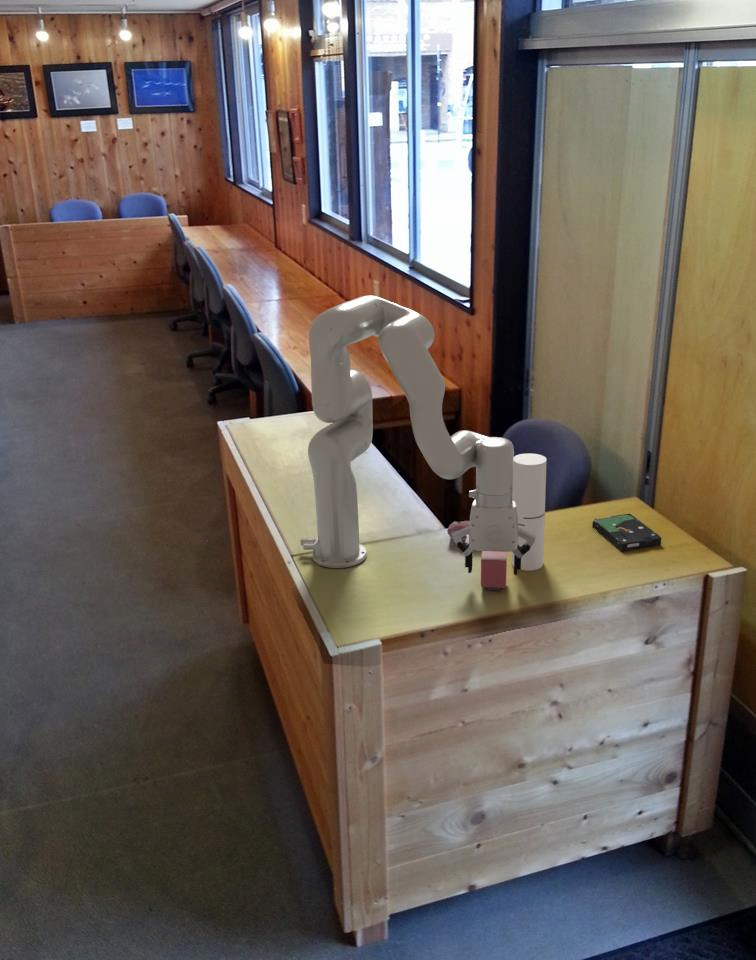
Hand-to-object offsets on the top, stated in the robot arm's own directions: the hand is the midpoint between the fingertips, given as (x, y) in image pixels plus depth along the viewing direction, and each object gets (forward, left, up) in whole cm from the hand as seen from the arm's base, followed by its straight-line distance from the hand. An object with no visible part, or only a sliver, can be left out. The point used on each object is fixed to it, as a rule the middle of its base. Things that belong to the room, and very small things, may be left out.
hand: (492, 571), depth 198 cm
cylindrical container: (+7, +12, -4) cm, 15 cm away
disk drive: (+30, +28, -5) cm, 42 cm away
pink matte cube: (0, 0, -2) cm, 2 cm away
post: (0, 0, -4) cm, 4 cm away
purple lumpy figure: (-6, +22, -4) cm, 24 cm away
